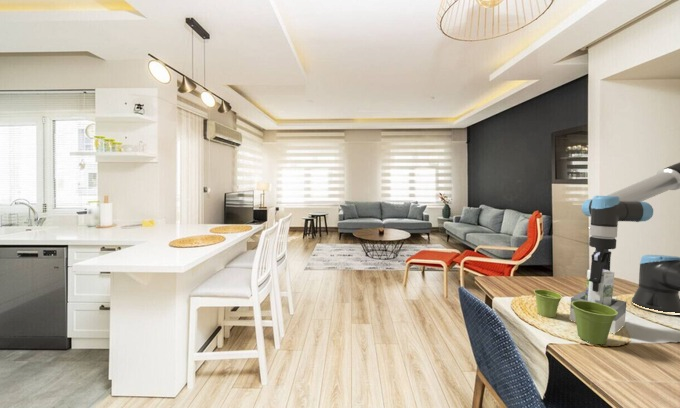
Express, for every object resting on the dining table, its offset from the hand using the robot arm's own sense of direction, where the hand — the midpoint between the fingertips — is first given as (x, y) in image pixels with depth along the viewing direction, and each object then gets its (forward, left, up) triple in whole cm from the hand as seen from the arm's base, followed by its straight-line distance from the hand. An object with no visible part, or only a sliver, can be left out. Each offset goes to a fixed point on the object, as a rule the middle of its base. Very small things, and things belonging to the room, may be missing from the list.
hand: (598, 297), depth 111 cm
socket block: (0, 0, -10) cm, 10 cm away
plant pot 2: (+10, +15, -10) cm, 21 cm away
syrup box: (0, 0, -4) cm, 4 cm away
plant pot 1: (+15, -4, -10) cm, 19 cm away
